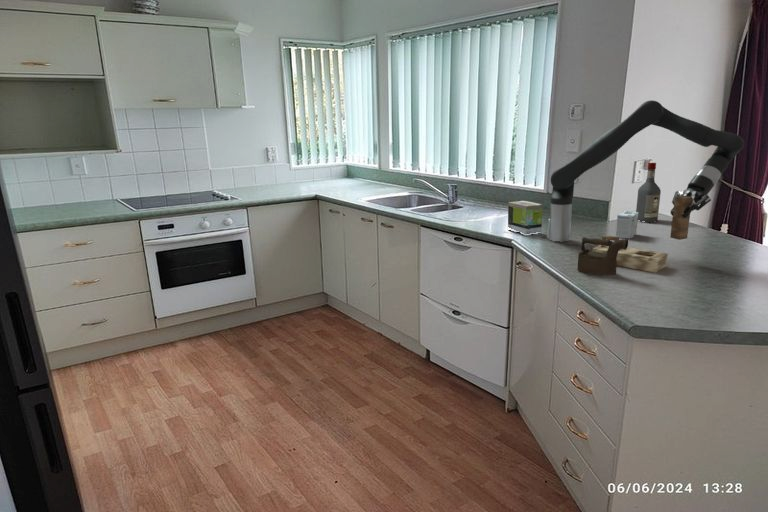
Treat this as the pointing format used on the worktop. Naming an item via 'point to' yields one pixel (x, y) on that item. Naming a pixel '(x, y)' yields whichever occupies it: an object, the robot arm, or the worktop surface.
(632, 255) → the pine toolbox
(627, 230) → the light bulb box
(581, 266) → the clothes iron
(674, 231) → the walnut key
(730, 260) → the worktop surface
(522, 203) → the tea box
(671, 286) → the worktop surface
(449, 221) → the worktop surface
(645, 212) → the liquor
